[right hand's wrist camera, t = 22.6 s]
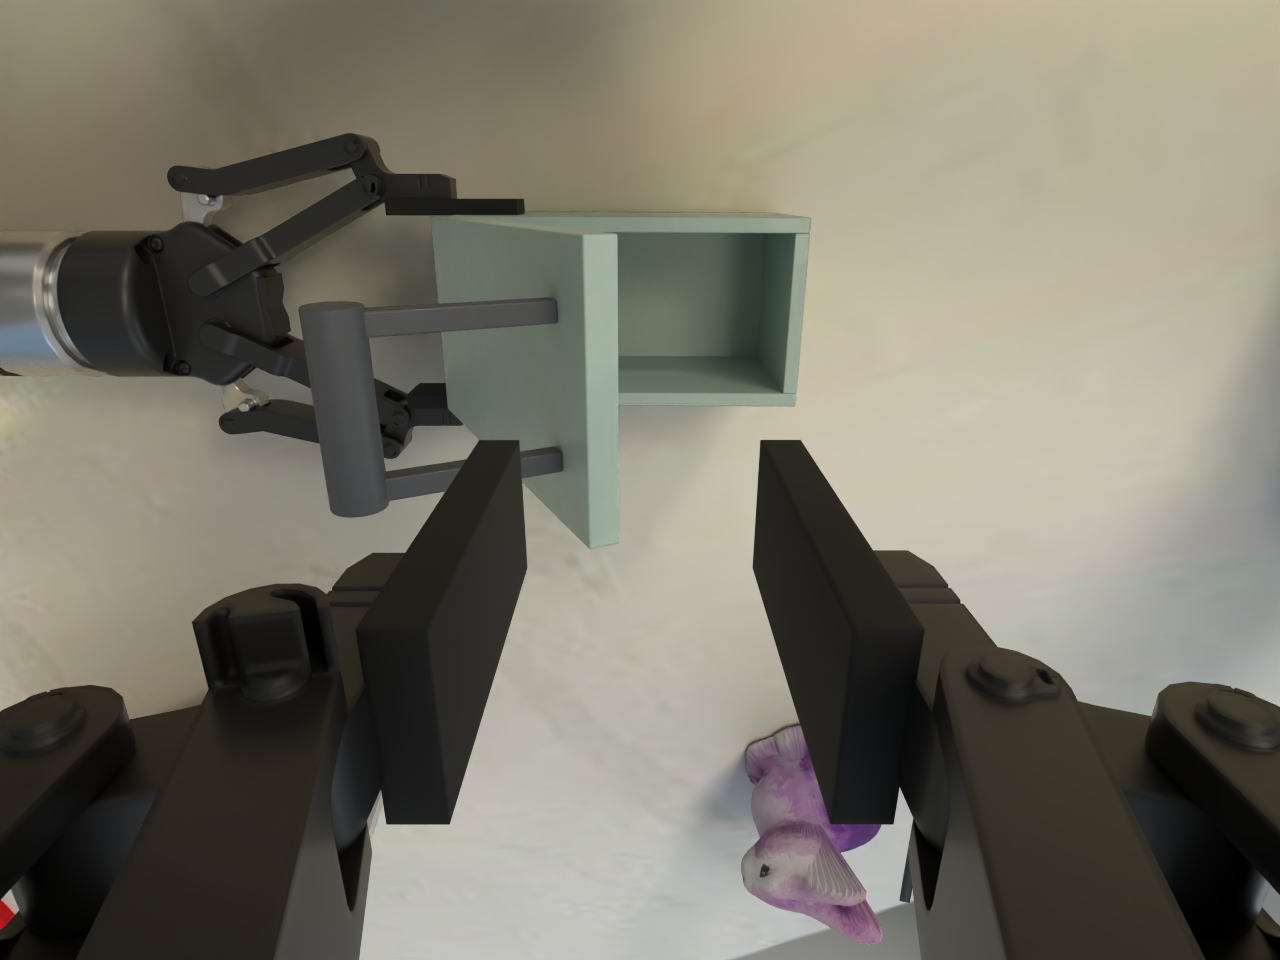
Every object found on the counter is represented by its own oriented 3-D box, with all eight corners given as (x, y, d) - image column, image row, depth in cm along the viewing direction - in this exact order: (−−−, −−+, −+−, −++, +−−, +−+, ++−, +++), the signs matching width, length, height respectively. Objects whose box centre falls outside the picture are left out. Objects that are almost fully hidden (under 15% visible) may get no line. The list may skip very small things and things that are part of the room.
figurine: (713, 769, 59) (739, 946, 45) (807, 692, 57) (866, 854, 43) (792, 829, 62) (840, 1015, 48) (886, 758, 59) (966, 932, 45)
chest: (775, 212, 44) (811, 217, 35) (765, 365, 47) (795, 406, 38) (486, 211, 44) (444, 215, 35) (496, 363, 47) (460, 404, 38)
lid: (618, 233, 20) (293, 239, 16) (620, 543, 23) (350, 603, 20) (452, 215, 35) (263, 217, 31) (467, 406, 38) (298, 427, 34)
